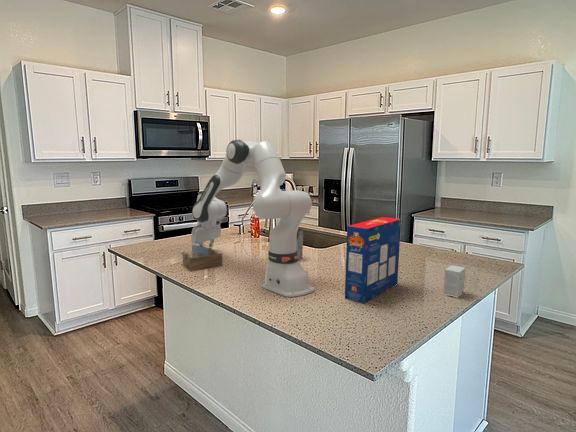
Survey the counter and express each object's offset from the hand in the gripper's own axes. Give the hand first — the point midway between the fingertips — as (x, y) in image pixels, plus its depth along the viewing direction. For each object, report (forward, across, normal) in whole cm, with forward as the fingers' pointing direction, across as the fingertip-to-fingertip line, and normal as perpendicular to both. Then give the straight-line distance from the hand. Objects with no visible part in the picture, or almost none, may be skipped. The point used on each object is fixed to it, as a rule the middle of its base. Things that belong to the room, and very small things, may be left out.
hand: (206, 248), depth 205 cm
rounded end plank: (+3, -5, -1) cm, 6 cm away
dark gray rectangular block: (+3, -16, -11) cm, 20 cm away
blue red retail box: (+4, -10, -93) cm, 94 cm away
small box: (+4, +2, -122) cm, 122 cm away
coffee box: (+4, +16, -44) cm, 46 cm away
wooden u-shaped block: (+3, -16, -10) cm, 19 cm away
